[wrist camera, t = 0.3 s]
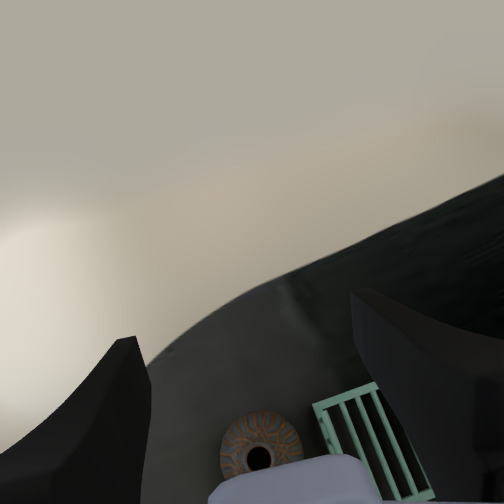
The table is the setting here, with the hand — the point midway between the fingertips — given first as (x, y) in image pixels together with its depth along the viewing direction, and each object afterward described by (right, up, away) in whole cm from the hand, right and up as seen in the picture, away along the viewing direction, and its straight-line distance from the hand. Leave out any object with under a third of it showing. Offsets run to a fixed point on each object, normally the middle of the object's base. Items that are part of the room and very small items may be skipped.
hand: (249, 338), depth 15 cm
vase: (+1, -15, +26) cm, 30 cm away
